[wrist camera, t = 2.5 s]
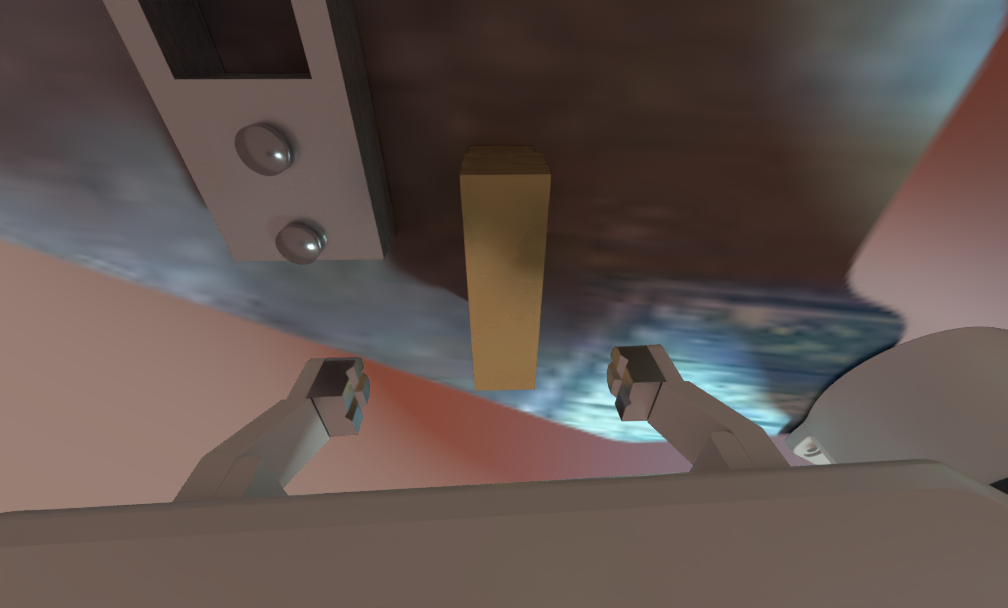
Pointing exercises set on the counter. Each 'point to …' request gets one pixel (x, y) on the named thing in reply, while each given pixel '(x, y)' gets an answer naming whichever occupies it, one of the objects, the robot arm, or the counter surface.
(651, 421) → the robot arm
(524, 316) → the tan bridge block
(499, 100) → the counter surface
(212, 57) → the gray windowed bar
